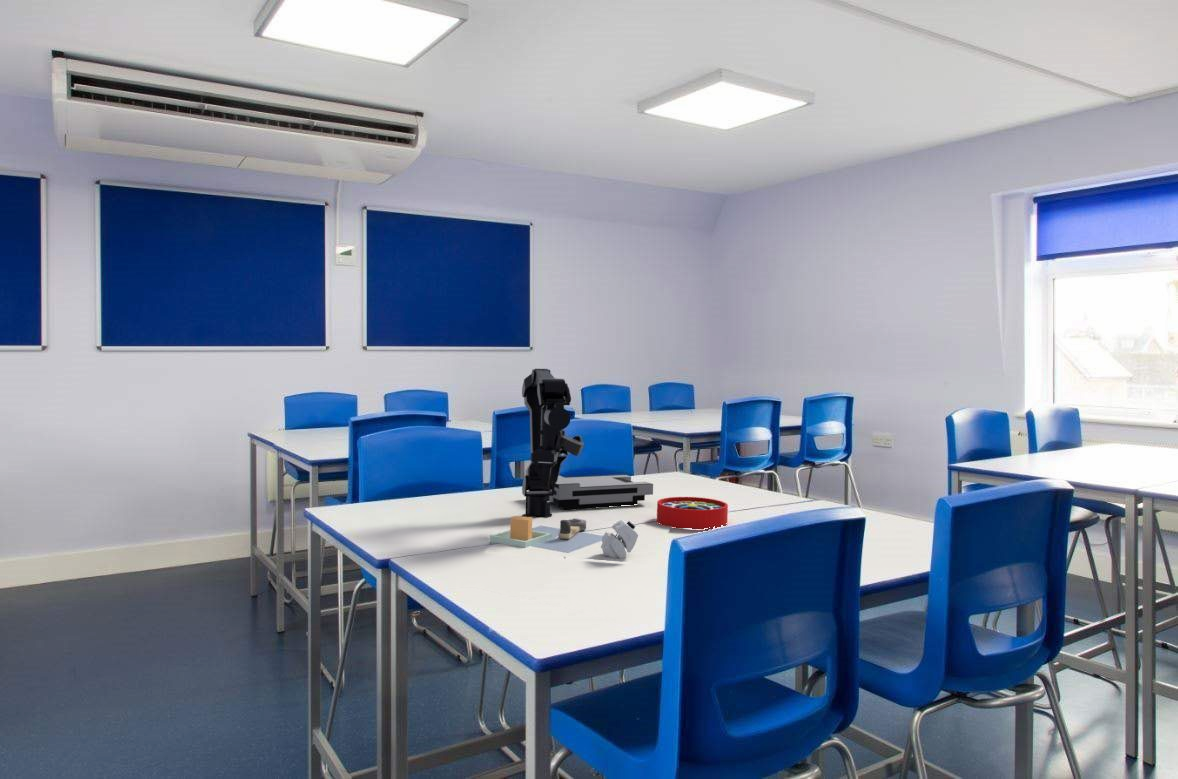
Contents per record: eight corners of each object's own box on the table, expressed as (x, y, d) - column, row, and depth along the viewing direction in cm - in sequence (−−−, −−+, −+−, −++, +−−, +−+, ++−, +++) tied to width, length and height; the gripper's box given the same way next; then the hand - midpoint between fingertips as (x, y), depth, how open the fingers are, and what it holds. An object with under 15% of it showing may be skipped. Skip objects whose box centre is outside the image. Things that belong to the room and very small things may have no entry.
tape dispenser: (618, 568, 185) (646, 535, 186) (597, 550, 184) (625, 517, 185) (613, 562, 191) (640, 530, 192) (592, 544, 190) (620, 512, 191)
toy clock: (696, 494, 243) (742, 506, 226) (695, 513, 243) (742, 526, 226) (643, 500, 232) (688, 512, 215) (642, 520, 232) (687, 534, 216)
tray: (489, 543, 199) (489, 535, 199) (516, 535, 208) (516, 527, 208) (525, 549, 193) (525, 542, 193) (551, 541, 203) (551, 533, 203)
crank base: (494, 541, 201) (494, 539, 201) (541, 527, 218) (541, 525, 218) (568, 555, 189) (568, 552, 189) (611, 539, 206) (611, 536, 206)
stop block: (514, 537, 203) (514, 516, 203) (531, 538, 202) (532, 517, 202) (510, 540, 200) (510, 518, 199) (527, 542, 199) (528, 520, 198)
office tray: (652, 506, 254) (653, 480, 254) (558, 512, 241) (559, 484, 241) (623, 494, 273) (624, 470, 273) (534, 499, 260) (535, 474, 260)
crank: (570, 525, 217) (570, 510, 216) (588, 527, 215) (588, 511, 215) (554, 537, 202) (554, 521, 202) (573, 539, 201) (573, 522, 201)
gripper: (573, 430, 201) (572, 492, 202) (588, 424, 219) (587, 481, 220) (530, 428, 203) (529, 490, 204) (549, 422, 222) (548, 479, 222)
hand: (550, 484), depth 213 cm, fingers open, 9 cm apart
